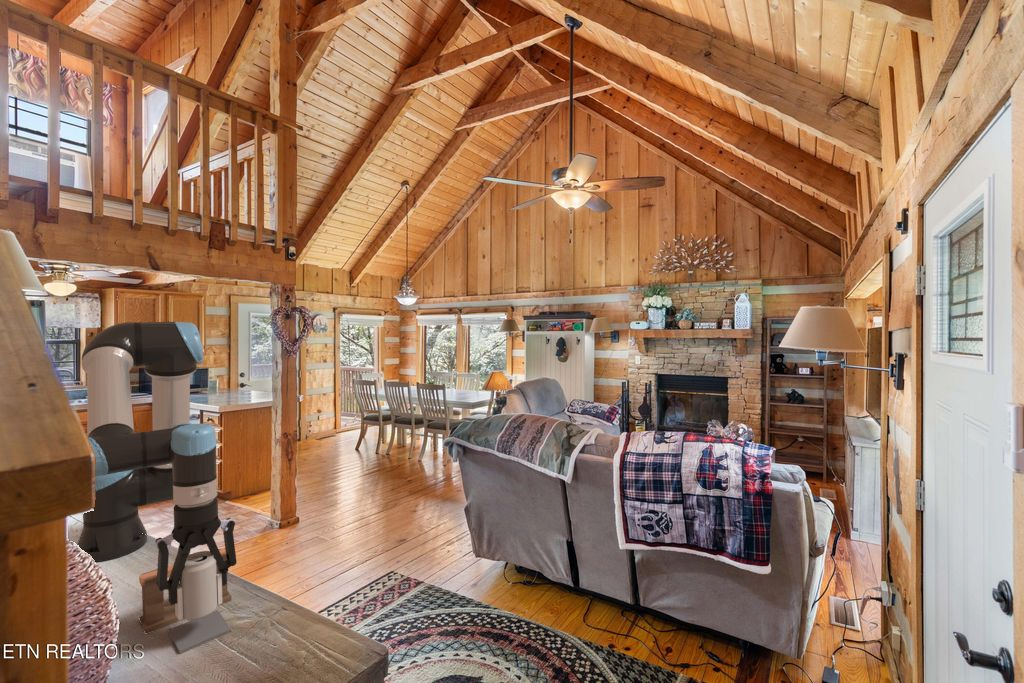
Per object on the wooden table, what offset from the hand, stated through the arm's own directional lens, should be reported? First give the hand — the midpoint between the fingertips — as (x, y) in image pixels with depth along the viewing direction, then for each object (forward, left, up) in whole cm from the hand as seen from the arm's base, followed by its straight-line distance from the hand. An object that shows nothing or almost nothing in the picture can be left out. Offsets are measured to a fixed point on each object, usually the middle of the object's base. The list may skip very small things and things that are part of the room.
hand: (199, 608), depth 98 cm
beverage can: (0, 0, -1) cm, 1 cm away
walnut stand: (-10, 0, -5) cm, 11 cm away
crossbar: (-10, 0, +4) cm, 11 cm away
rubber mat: (0, 0, -5) cm, 5 cm away
